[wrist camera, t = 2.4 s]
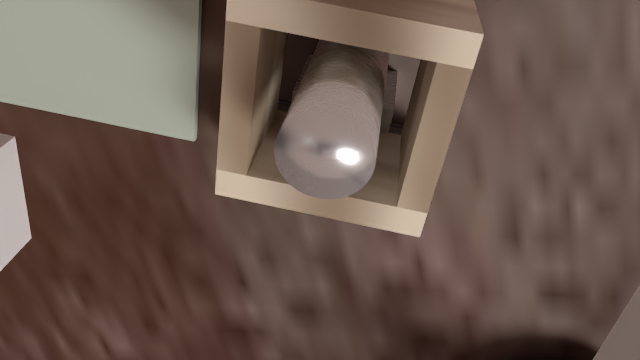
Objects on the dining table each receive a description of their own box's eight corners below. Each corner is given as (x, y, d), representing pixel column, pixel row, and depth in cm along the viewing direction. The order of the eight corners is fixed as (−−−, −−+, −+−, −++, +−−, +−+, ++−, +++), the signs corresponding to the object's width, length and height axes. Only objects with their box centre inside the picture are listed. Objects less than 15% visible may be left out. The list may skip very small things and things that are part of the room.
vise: (255, 149, 29) (178, 306, 20) (300, -296, 19) (193, -395, 10) (412, 182, 29) (409, 356, 19) (538, -255, 19) (649, -318, 10)
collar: (251, 126, 24) (214, 194, 19) (268, -52, 20) (227, -16, 16) (419, 161, 23) (420, 237, 19) (470, -13, 20) (484, 34, 15)
